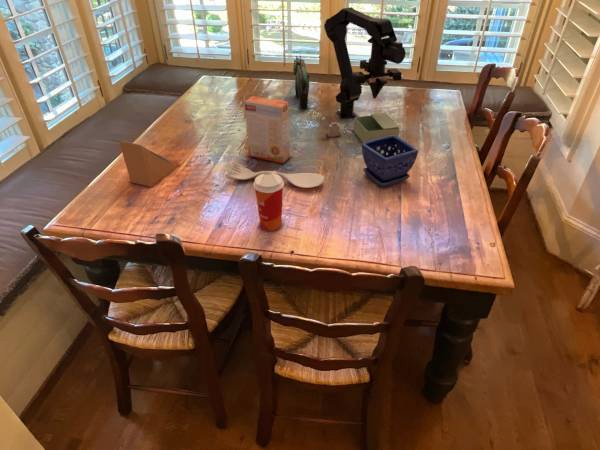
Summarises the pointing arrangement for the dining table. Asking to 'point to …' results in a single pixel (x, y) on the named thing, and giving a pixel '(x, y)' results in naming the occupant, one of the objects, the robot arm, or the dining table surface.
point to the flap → (384, 120)
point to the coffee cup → (269, 200)
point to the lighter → (331, 128)
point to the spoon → (296, 179)
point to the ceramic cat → (301, 82)
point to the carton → (371, 129)
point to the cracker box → (268, 129)
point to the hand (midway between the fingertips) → (374, 98)
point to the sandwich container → (144, 164)
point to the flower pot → (388, 160)
